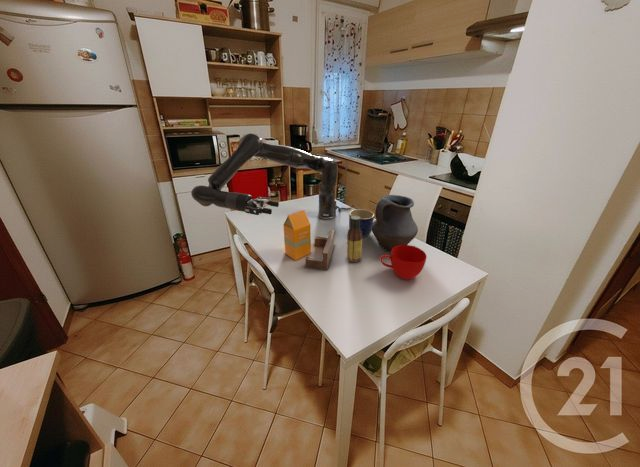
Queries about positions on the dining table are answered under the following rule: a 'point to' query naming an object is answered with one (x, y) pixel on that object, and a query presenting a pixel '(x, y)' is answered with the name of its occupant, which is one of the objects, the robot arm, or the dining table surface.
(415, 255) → the ceramic cup
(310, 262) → the wooden stand
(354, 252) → the sauce bottle
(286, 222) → the orange juice
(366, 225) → the planter
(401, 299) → the dining table surface
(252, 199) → the robot arm
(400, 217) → the pitcher
